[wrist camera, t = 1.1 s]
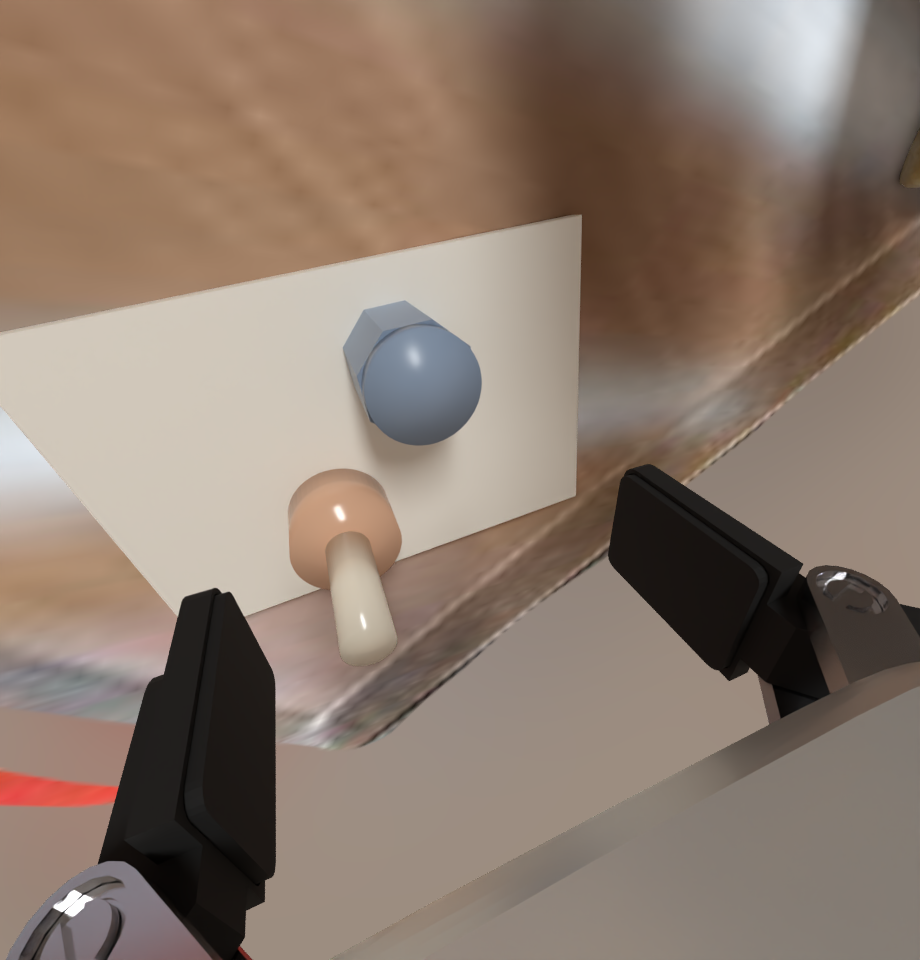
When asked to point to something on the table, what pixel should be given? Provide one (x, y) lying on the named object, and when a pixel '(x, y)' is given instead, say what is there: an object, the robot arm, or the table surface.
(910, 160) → the pastry
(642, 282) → the table surface
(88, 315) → the board
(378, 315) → the cap
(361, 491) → the round stamp handle
